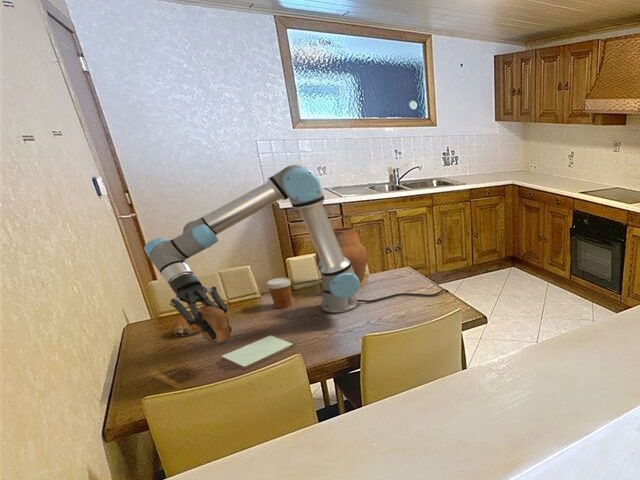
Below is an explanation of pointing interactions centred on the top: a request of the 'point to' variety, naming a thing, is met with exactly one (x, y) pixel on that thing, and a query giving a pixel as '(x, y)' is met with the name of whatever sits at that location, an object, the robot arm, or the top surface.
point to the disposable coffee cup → (280, 292)
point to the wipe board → (256, 350)
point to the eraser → (215, 324)
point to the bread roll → (184, 328)
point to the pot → (350, 249)
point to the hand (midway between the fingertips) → (222, 334)
